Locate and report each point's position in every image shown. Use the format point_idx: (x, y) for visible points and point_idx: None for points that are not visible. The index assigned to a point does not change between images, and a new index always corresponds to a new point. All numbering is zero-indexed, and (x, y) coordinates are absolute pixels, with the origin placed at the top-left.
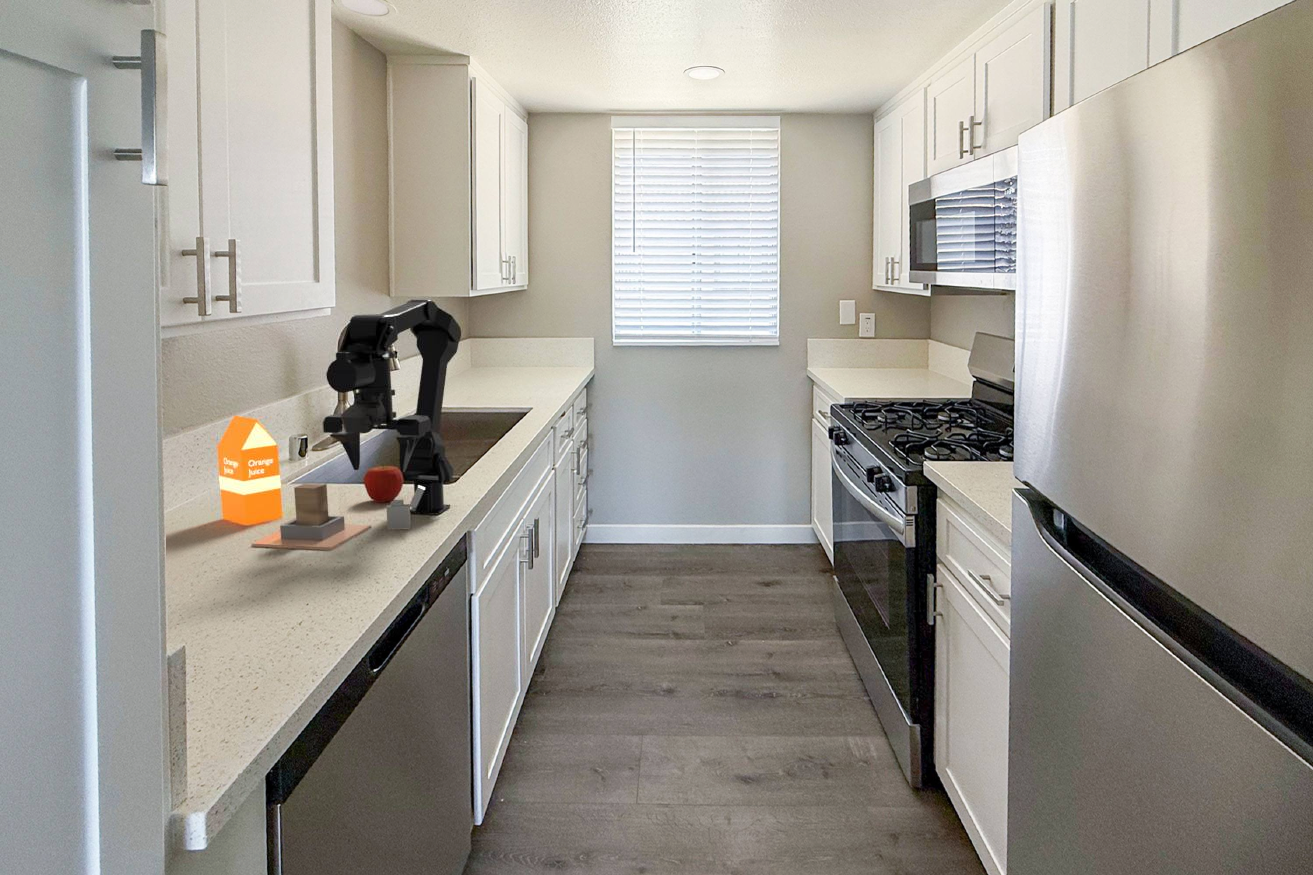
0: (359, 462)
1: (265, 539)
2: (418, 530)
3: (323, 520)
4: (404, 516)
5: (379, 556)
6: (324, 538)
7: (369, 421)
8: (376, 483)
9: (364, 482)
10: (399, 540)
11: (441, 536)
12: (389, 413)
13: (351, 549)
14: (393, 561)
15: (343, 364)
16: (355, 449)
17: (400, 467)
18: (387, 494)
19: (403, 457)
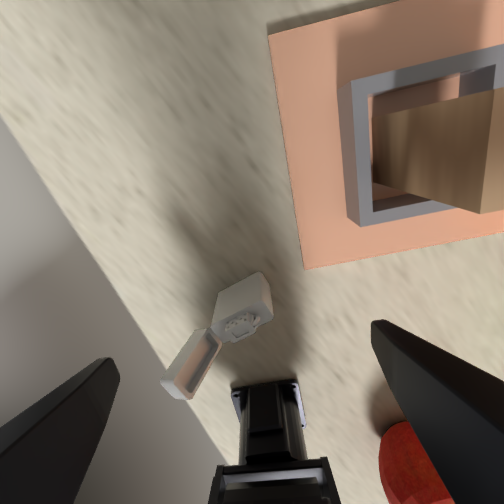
0: (387, 380)
1: None
2: (187, 286)
3: (392, 155)
4: (222, 304)
5: (94, 37)
6: (338, 100)
7: None
8: (426, 457)
9: None
10: (165, 200)
11: (103, 264)
12: None
13: (219, 72)
14: (16, 3)
15: None
16: (464, 459)
17: (92, 372)
18: (391, 439)
19: (3, 429)
